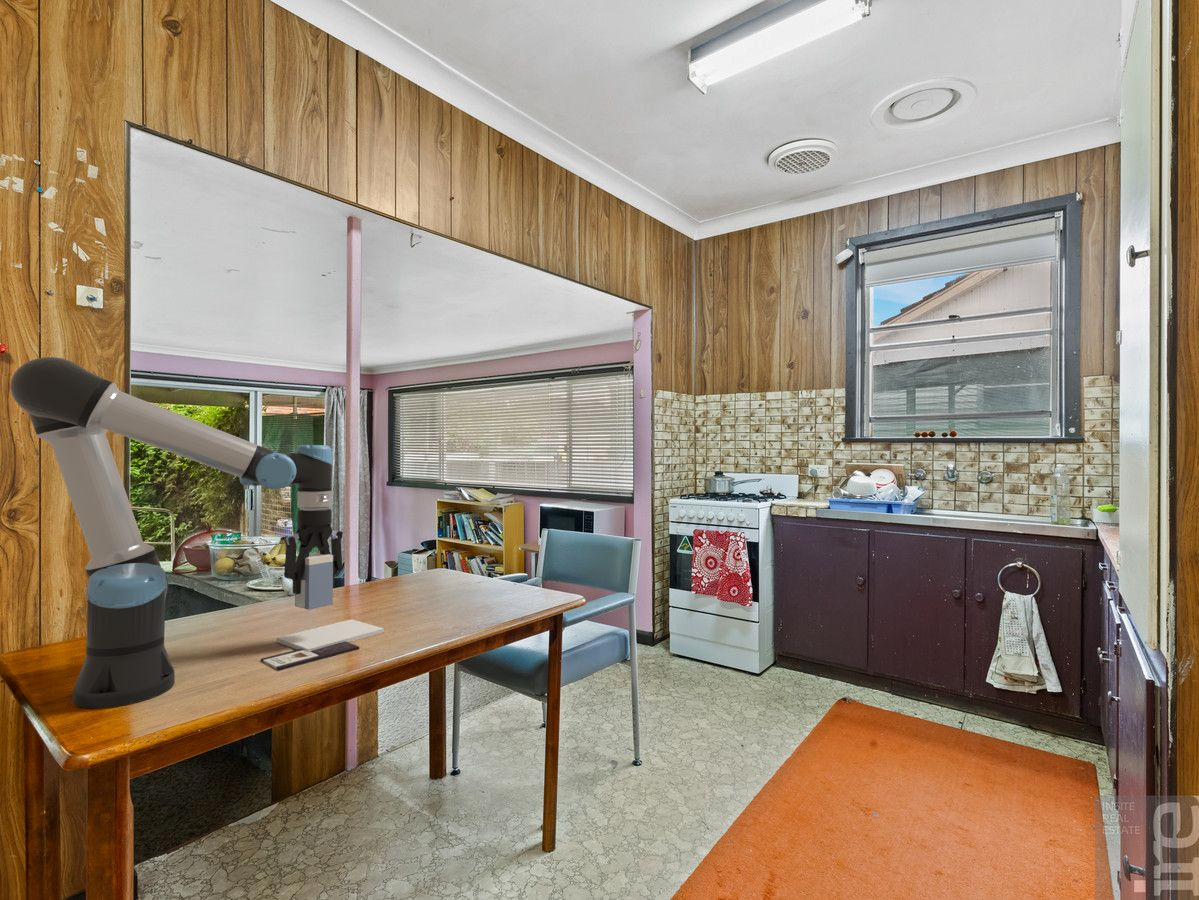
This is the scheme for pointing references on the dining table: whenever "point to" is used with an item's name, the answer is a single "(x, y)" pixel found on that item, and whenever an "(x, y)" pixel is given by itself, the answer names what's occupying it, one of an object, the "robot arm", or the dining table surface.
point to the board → (329, 635)
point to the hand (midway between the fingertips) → (313, 603)
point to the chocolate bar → (307, 655)
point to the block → (318, 581)
